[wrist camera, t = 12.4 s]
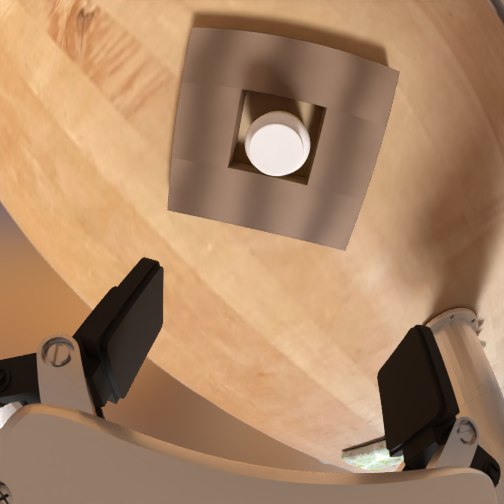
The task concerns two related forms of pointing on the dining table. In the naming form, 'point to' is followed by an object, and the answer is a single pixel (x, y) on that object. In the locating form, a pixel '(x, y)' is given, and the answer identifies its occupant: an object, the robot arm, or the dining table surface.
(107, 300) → the robot arm
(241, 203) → the walnut board
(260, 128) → the supplement bottle
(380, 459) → the towel
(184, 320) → the dining table surface
